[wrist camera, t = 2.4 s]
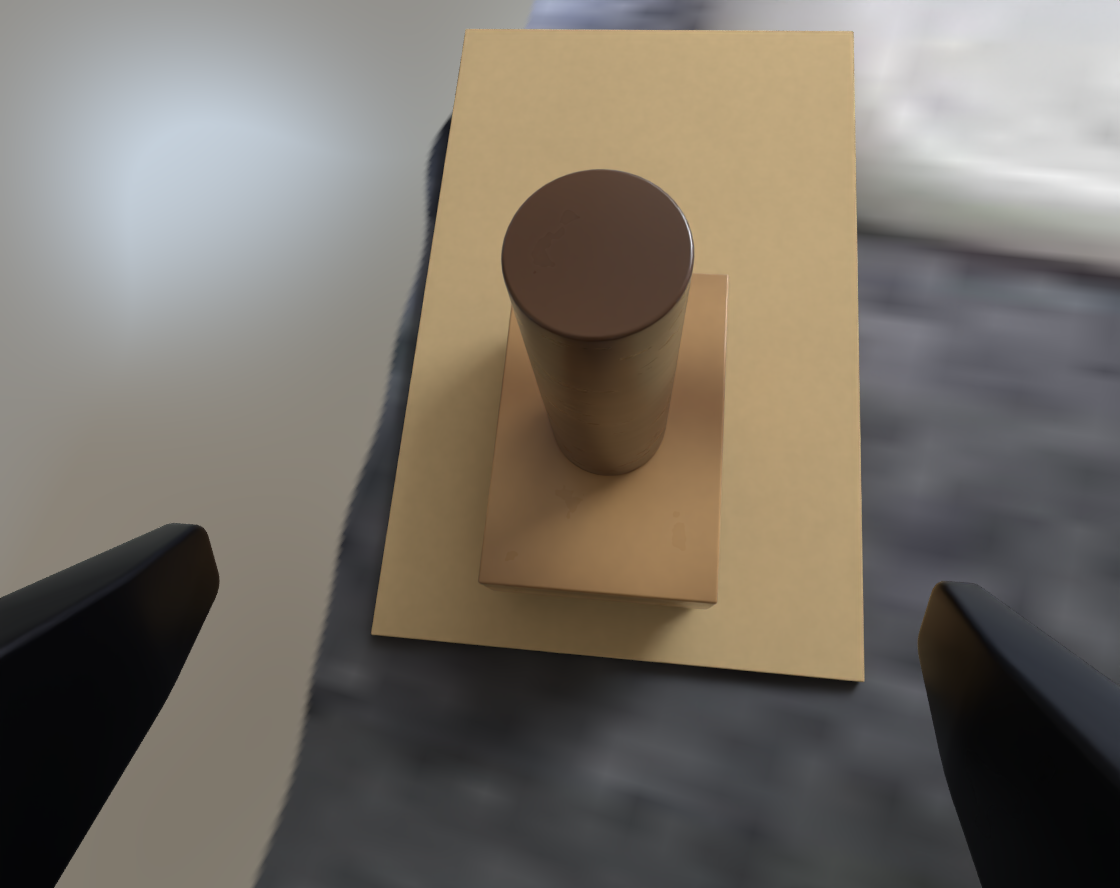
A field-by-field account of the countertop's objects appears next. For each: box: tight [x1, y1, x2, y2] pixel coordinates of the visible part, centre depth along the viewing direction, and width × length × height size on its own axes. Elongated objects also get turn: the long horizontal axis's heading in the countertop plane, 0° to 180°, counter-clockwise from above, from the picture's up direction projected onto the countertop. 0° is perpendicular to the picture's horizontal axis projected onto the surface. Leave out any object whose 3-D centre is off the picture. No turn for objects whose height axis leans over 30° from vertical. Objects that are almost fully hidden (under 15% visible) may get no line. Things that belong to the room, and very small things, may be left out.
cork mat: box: [371, 29, 864, 682], centre depth 24 cm, size 22×14×1 cm, turn 175°
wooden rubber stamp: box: [478, 169, 729, 610], centre depth 17 cm, size 9×6×12 cm, turn 175°
